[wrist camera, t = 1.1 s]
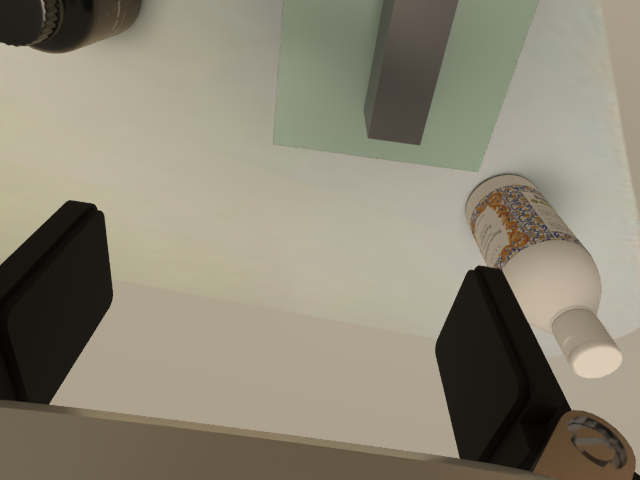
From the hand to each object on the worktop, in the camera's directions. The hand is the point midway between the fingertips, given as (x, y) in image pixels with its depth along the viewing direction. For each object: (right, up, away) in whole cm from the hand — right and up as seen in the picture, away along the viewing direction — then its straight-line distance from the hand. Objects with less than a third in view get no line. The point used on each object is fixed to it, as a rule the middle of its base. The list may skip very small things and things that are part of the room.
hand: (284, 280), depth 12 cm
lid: (+5, +12, +14) cm, 20 cm away
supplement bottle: (-16, +21, +24) cm, 35 cm away
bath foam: (+19, +5, +33) cm, 38 cm away
